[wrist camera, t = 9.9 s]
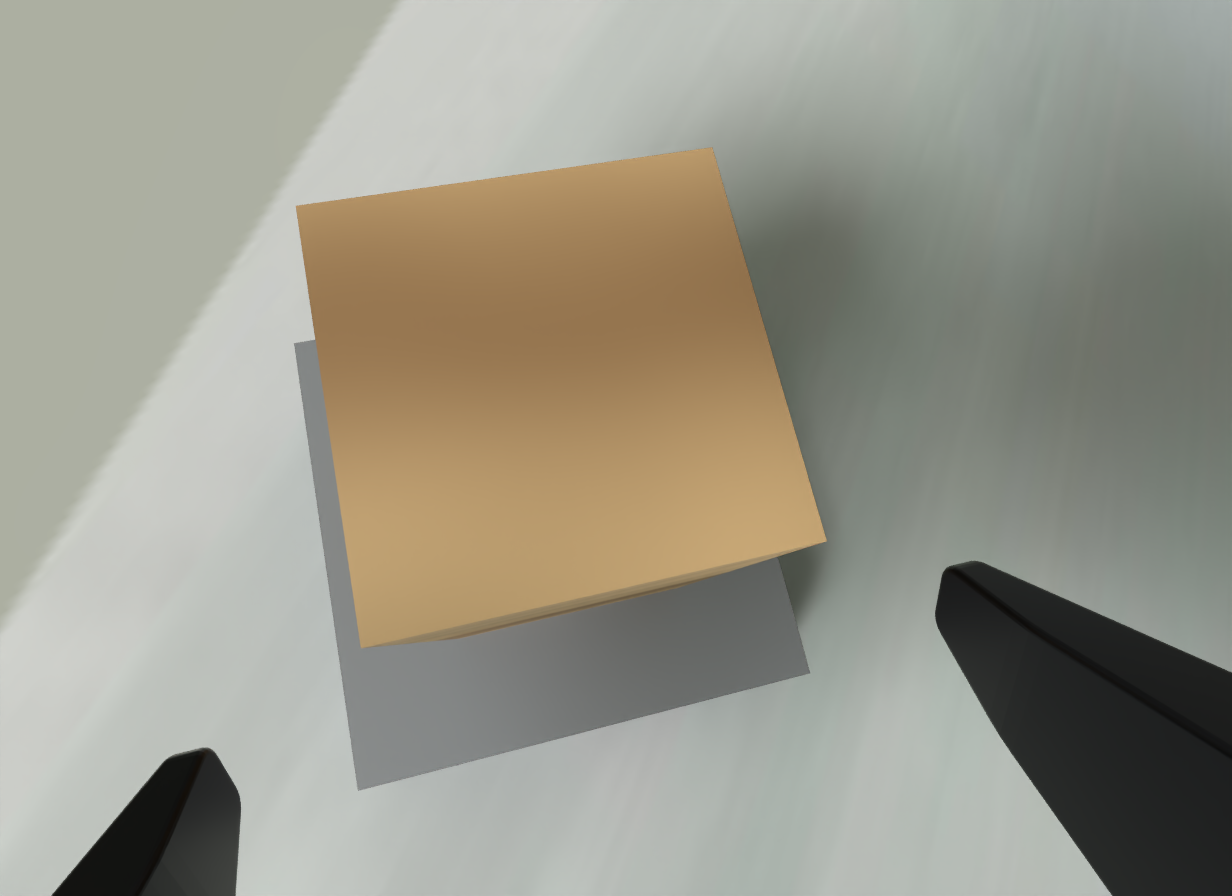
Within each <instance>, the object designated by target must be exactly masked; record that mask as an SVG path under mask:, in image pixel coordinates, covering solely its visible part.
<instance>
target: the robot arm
mask: <svg viewBox="0 0 1232 896" xmlns="http://www.w3.org/2000/svg"><path fill="white" fill-rule="evenodd" d="M935 617H936V623H937V626H938V629H939V631H940V633H941V635H942V637H943V638H944V640H945V642H946V644H947V645H948V647H949V649H950V651H951V652H952V654H953V656H954V658H955V659H956V661H957V663H958V665H959V666H960V668H961V670H962V672H963V673H964V675H965V677H966V679H967V681H968V682H969V684H970V686H971V688H972V689H973V691H974V693H975V695H976V696H977V698H978V700H979V702H980V703H981V705H982V707H983V709H984V710H985V712H986V714H987V716H988V717H989V719H990V721H991V722H992V724H993V726H994V727H995V729H996V731H997V732H998V734H999V736H1000V737H1001V739H1002V740H1003V741H1004V743H1005V744H1006V746H1007V747H1008V749H1009V750H1010V752H1011V753H1012V755H1013V756H1014V758H1015V759H1016V760H1017V762H1018V763H1019V765H1020V766H1021V767H1022V769H1023V770H1024V772H1025V773H1026V774H1027V776H1028V777H1029V779H1030V780H1031V782H1032V783H1033V784H1034V786H1035V787H1036V789H1037V790H1038V791H1039V793H1040V794H1041V796H1042V797H1043V799H1044V800H1045V801H1046V803H1047V804H1048V806H1049V807H1050V808H1051V810H1052V811H1053V813H1054V814H1055V815H1056V817H1057V818H1058V820H1059V821H1060V823H1061V824H1062V825H1063V827H1064V828H1065V830H1066V831H1067V832H1068V834H1069V835H1070V837H1071V838H1072V840H1073V841H1074V842H1075V844H1076V845H1077V847H1078V848H1079V849H1080V851H1081V852H1082V854H1083V855H1084V857H1085V858H1086V859H1087V861H1088V862H1089V864H1090V865H1091V866H1092V868H1093V869H1094V871H1095V872H1096V873H1097V875H1098V876H1099V878H1100V879H1101V881H1102V882H1103V883H1104V885H1105V886H1106V888H1107V889H1108V890H1109V892H1110V893H1111V895H1112V896H1232V673H1231V672H1229V671H1227V670H1225V669H1222V668H1220V667H1218V666H1216V665H1213V664H1211V663H1209V662H1206V661H1204V660H1202V659H1200V658H1197V657H1195V656H1193V655H1191V654H1188V653H1186V652H1184V651H1182V650H1179V649H1177V648H1175V647H1173V646H1170V645H1168V644H1166V643H1164V642H1161V641H1159V640H1157V639H1154V638H1152V637H1150V636H1148V635H1145V634H1143V633H1141V632H1139V631H1136V630H1134V629H1132V628H1130V627H1127V626H1125V625H1123V624H1121V623H1118V622H1116V621H1114V620H1112V619H1109V618H1107V617H1105V616H1102V615H1100V614H1098V613H1096V612H1093V611H1091V610H1089V609H1087V608H1084V607H1082V606H1080V605H1078V604H1075V603H1073V602H1071V601H1069V600H1066V599H1064V598H1062V597H1060V596H1057V595H1055V594H1053V593H1050V592H1048V591H1046V590H1044V589H1041V588H1039V587H1037V586H1035V585H1032V584H1030V583H1028V582H1026V581H1023V580H1021V579H1019V578H1017V577H1014V576H1012V575H1010V574H1008V573H1005V572H1003V571H1001V570H998V569H996V568H994V567H992V566H989V565H987V564H985V563H982V562H979V561H969V562H964V563H960V564H956V565H952V566H949V567H947V568H946V569H945V571H944V572H943V574H942V578H941V584H940V589H939V594H938V600H937V605H936V610H935ZM240 819H241V802H240V796H239V793H238V790H237V788H236V786H235V785H234V783H233V781H232V780H231V778H230V776H229V775H228V773H227V771H226V770H225V768H224V766H223V765H222V763H221V761H220V759H219V758H218V756H217V755H216V753H215V752H214V751H213V750H212V749H210V748H199V749H195V750H191V751H187V752H183V753H179V754H175V755H172V756H171V757H169V758H168V759H166V760H165V761H164V762H163V763H162V764H161V765H160V766H159V768H158V769H157V770H156V771H155V772H154V774H153V775H152V776H151V777H150V778H149V780H148V781H147V782H146V783H145V784H144V786H143V787H142V788H141V789H140V790H139V792H138V793H137V794H136V795H135V796H134V798H133V799H132V800H131V801H130V802H129V803H128V805H127V806H126V807H125V808H124V809H123V811H122V812H121V813H120V814H119V815H118V817H117V818H116V819H115V820H114V821H113V823H112V824H111V825H110V826H109V827H108V829H107V830H106V831H105V832H104V833H103V835H102V836H101V837H100V838H99V839H98V841H97V842H96V843H95V844H94V845H93V846H92V848H91V849H90V850H89V851H88V852H87V854H86V855H85V856H84V857H83V858H82V860H81V861H80V862H79V863H78V864H77V866H76V867H75V868H74V869H73V870H72V872H71V873H70V874H69V875H68V876H67V878H66V879H65V880H64V881H63V882H62V883H61V885H60V886H59V887H58V888H57V889H56V891H55V892H54V893H53V894H52V895H51V896H236V880H237V865H238V849H239V834H240Z"/></svg>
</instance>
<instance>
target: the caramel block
mask: <svg viewBox="0 0 1232 896" xmlns="http://www.w3.org/2000/svg"><path fill="white" fill-rule="evenodd" d="M296 211H297V218H298V224H299V231H300V238H301V245H302V252H303V258H304V265H305V272H306V279H307V285H308V292H309V299H310V306H311V313H312V319H313V326H314V333H315V340H316V347H317V353H318V360H319V367H320V374H321V381H322V387H323V394H324V401H325V408H326V415H327V421H328V428H329V435H330V442H331V449H332V455H333V462H334V469H335V476H336V483H337V489H338V496H339V503H340V510H341V517H342V523H343V530H344V537H345V544H346V551H347V557H348V564H349V571H350V578H351V585H352V591H353V598H354V605H355V612H356V619H357V625H358V632H359V639H360V646H361V648H369V647H379V646H389V645H399V644H410V643H420V642H430V641H440V640H450V639H459V638H464V637H468V636H472V635H477V634H481V633H485V632H490V631H494V630H498V629H503V628H507V627H511V626H515V625H520V624H524V623H528V622H533V621H537V620H541V619H546V618H550V617H554V616H558V615H563V614H567V613H571V612H576V611H580V610H584V609H589V608H593V607H597V606H602V605H606V604H610V603H614V602H619V601H623V600H627V599H632V598H636V597H640V596H645V595H649V594H653V593H657V592H662V591H666V590H670V589H675V588H679V587H682V586H685V585H688V584H692V583H695V582H698V581H701V580H704V579H708V578H711V577H714V576H717V575H720V574H724V573H727V572H730V571H733V570H736V569H740V568H743V567H746V566H749V565H752V564H756V563H759V562H762V561H765V560H768V559H772V558H775V557H778V556H781V555H784V554H788V553H791V552H794V551H797V550H800V549H804V548H807V547H810V546H813V545H816V544H820V543H823V542H826V541H827V540H826V537H825V533H824V530H823V526H822V523H821V519H820V516H819V513H818V509H817V506H816V502H815V499H814V495H813V492H812V488H811V485H810V482H809V478H808V475H807V471H806V468H805V464H804V461H803V458H802V454H801V451H800V447H799V444H798V440H797V437H796V434H795V430H794V427H793V423H792V420H791V416H790V413H789V409H788V406H787V403H786V399H785V396H784V392H783V389H782V385H781V382H780V379H779V375H778V372H777V368H776V365H775V361H774V358H773V354H772V351H771V348H770V344H769V341H768V337H767V334H766V330H765V327H764V324H763V320H762V317H761V313H760V310H759V306H758V303H757V300H756V296H755V293H754V289H753V286H752V282H751V279H750V275H749V272H748V269H747V265H746V262H745V258H744V255H743V251H742V248H741V245H740V241H739V238H738V234H737V231H736V227H735V224H734V221H733V217H732V214H731V210H730V207H729V203H728V200H727V196H726V193H725V190H724V186H723V183H722V179H721V176H720V172H719V169H718V166H717V162H716V159H715V155H714V152H713V148H712V147H711V148H704V149H697V150H690V151H683V152H676V153H669V154H662V155H655V156H647V157H640V158H633V159H626V160H619V161H612V162H605V163H598V164H591V165H583V166H576V167H569V168H562V169H555V170H548V171H541V172H534V173H527V174H519V175H512V176H505V177H498V178H491V179H484V180H477V181H470V182H463V183H455V184H448V185H441V186H434V187H427V188H420V189H413V190H406V191H399V192H392V193H384V194H377V195H370V196H363V197H356V198H349V199H342V200H335V201H328V202H320V203H313V204H306V205H299V206H296Z"/></svg>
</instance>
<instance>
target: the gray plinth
mask: <svg viewBox="0 0 1232 896" xmlns="http://www.w3.org/2000/svg"><path fill="white" fill-rule="evenodd" d="M294 346H295V353H296V360H297V367H298V374H299V381H300V388H301V395H302V402H303V409H304V416H305V423H306V430H307V437H308V444H309V451H310V458H311V465H312V472H313V479H314V486H315V493H316V500H317V507H318V514H319V521H320V528H321V535H322V542H323V549H324V556H325V563H326V570H327V577H328V584H329V591H330V598H331V605H332V612H333V619H334V626H335V633H336V640H337V647H338V654H339V661H340V668H341V675H342V682H343V689H344V696H345V703H346V710H347V717H348V724H349V731H350V738H351V745H352V752H353V759H354V766H355V773H356V780H357V787H358V791H359V790H363V789H367V788H371V787H374V786H378V785H382V784H386V783H390V782H394V781H397V780H401V779H405V778H409V777H413V776H417V775H421V774H424V773H428V772H432V771H436V770H440V769H444V768H447V767H451V766H455V765H459V764H463V763H467V762H470V761H474V760H478V759H482V758H486V757H490V756H494V755H497V754H501V753H505V752H509V751H513V750H517V749H520V748H524V747H528V746H532V745H536V744H540V743H544V742H547V741H551V740H555V739H559V738H563V737H567V736H570V735H574V734H578V733H582V732H586V731H590V730H593V729H597V728H601V727H605V726H609V725H613V724H617V723H620V722H624V721H628V720H632V719H636V718H640V717H643V716H647V715H651V714H655V713H659V712H663V711H666V710H670V709H674V708H678V707H682V706H686V705H690V704H693V703H697V702H701V701H705V700H709V699H713V698H716V697H720V696H724V695H728V694H732V693H736V692H740V691H743V690H747V689H751V688H755V687H759V686H763V685H766V684H770V683H774V682H778V681H782V680H786V679H789V678H793V677H797V676H801V675H805V674H809V673H810V670H809V667H808V663H807V660H806V656H805V652H804V649H803V645H802V642H801V638H800V634H799V631H798V627H797V624H796V620H795V616H794V613H793V609H792V606H791V602H790V598H789V595H788V591H787V588H786V584H785V580H784V577H783V573H782V570H781V566H780V562H779V559H778V557H775V558H772V559H768V560H765V561H762V562H759V563H756V564H752V565H749V566H746V567H743V568H740V569H736V570H733V571H730V572H727V573H724V574H720V575H717V576H714V577H711V578H708V579H704V580H701V581H698V582H695V583H692V584H688V585H685V586H682V587H679V588H675V589H670V590H666V591H662V592H657V593H653V594H649V595H645V596H640V597H636V598H632V599H627V600H623V601H619V602H614V603H610V604H606V605H602V606H597V607H593V608H589V609H584V610H580V611H576V612H571V613H567V614H563V615H558V616H554V617H550V618H546V619H541V620H537V621H533V622H528V623H524V624H520V625H515V626H511V627H507V628H503V629H498V630H494V631H490V632H485V633H481V634H477V635H472V636H468V637H464V638H459V639H450V640H440V641H430V642H420V643H410V644H399V645H389V646H379V647H369V648H361V646H360V639H359V632H358V625H357V619H356V612H355V605H354V598H353V591H352V585H351V578H350V571H349V564H348V557H347V551H346V544H345V537H344V530H343V523H342V517H341V510H340V503H339V496H338V489H337V483H336V476H335V469H334V462H333V455H332V449H331V442H330V435H329V428H328V421H327V415H326V408H325V401H324V394H323V387H322V381H321V374H320V367H319V360H318V353H317V347H316V340H311V341H306V342H300V343H294Z"/></svg>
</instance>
